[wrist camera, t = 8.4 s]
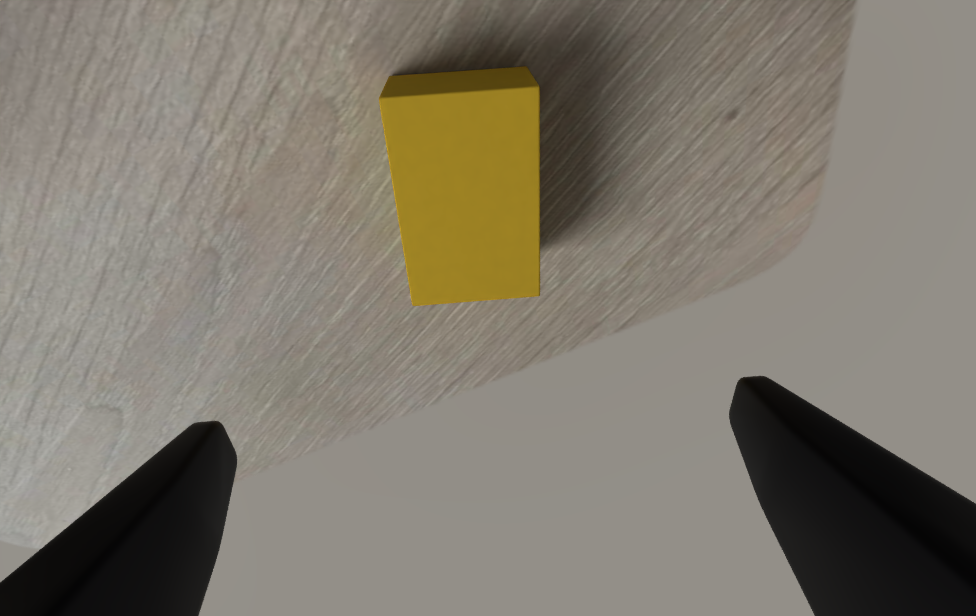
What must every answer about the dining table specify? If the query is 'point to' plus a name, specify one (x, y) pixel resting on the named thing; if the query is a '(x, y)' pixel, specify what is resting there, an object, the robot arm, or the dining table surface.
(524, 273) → the block
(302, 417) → the dining table surface
